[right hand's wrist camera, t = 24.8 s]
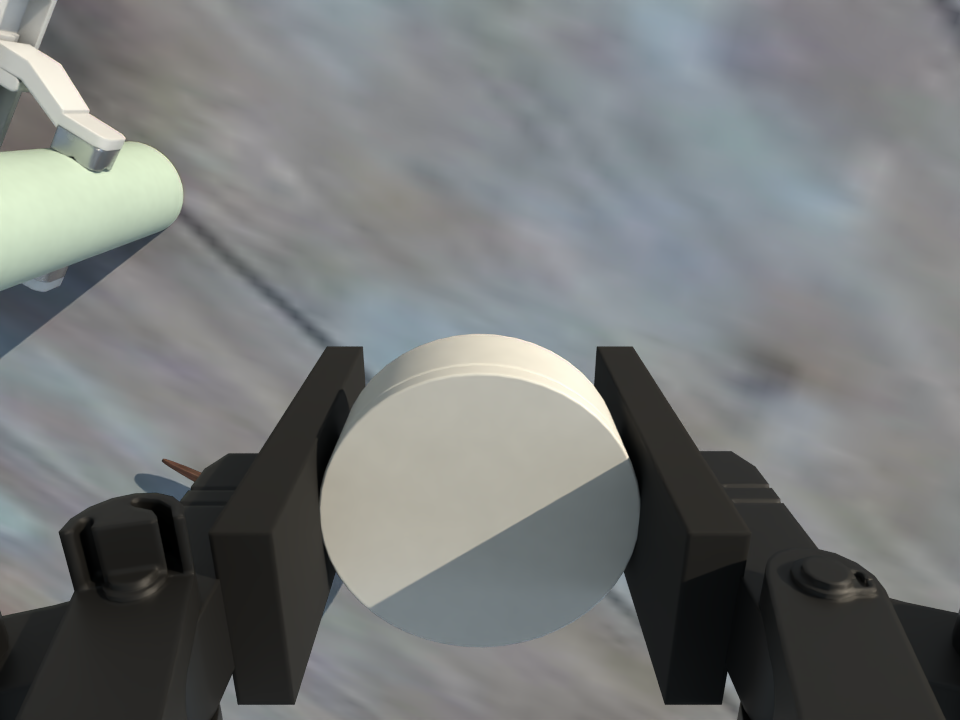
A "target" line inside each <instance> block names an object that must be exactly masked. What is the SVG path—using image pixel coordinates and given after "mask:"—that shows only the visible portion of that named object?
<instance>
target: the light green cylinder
mask: <svg viewBox="0 0 960 720" xmlns="http://www.w3.org/2000/svg"><path fill="white" fill-rule="evenodd" d="M182 204H183V189H182V184H181V180H180V178H179V175H178V173H177V171H176V170H175V168H174V166H173V165H172V164H171V162H170V161H169V160H168V159H167V158H166V157H165V156H164V155H163V154H162V153H160V152H159V151H157V150H156V149H154V148H152V147H150V146H148V145H146V144H143V143H139V142H124V144H123V147H122V149H121V150H120V152H119V154H118V156H117V158H116V160H115V163H114V165H113V167H112V169H111V170H106V169H104V170H103V171H99V172H96V171H93V170H89V169H87V168H85V167H83V166H81V165H80V164H79V163H77V162H76V160H75V158H74V157H73V156H65V155H63V154H61V153H60V152H58V151H56V150H55V149H53V148H43V149H31V150H19V151H7V152H0V291H2V290H5V289H8V288H10V287H13V286H16V285H18V284H21V283H24V282H26V281H29V280H32V279H34V278H37V277H40V276H42V275H45V274H48V273H50V272H53V271H56V270H58V269H61V268H64V267H66V266H69V265H72V264H75V263H77V262H80V261H83V260H85V259H88V258H91V257H93V256H96V255H99V254H101V253H104V252H107V251H109V250H112V249H115V248H117V247H120V246H123V245H125V244H128V243H131V242H133V241H136V240H139V239H141V238H144V237H147V236H149V235H152V234H155V233H157V232H160V231H162V230H164V229H166V228H167V227H169V226H170V225H171V224H172V223H173V222H174V221H175V220H176V219H177V217H178V215H179V213H180V211H181V208H182Z"/></svg>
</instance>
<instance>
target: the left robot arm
mask: <svg viewBox="0 0 960 720" xmlns="http://www.w3.org/2000/svg"><path fill="white" fill-rule="evenodd" d="M56 2H57V0H0V148H1V145H2V143H3V140H4V137H5V135H6V132H7V130H8V127H9V124H10V122H11V119H12V117H13V114H14V111H15V109H16V106H17V104H18V101H19V98H20V96H21V93H22V92H30V93H31V94H32V96H33V97H34V98H35V100H36V101H37V102H38V104H39V105H40V106H41V108H42V109H43V110H44V112H45V113H46V115H47V116H48V117H49V119H50V120H51V121H52V123H53V124H54V125H55V127H56V128H57V130H56V133H55V136H54V138H53V141H52V144H51V147H52V148H53V149H55V150H56V151H58V152H60V153H61V154H63V155H65V156H73V157H74V158H75V160H76V162H77V163H79V164H80V165H81V166H83V167H85V168H87V169H89V170H93V171H96V172H99V171H103V170H104V169H106V170H111V169H112V167H113V165H114V163H115V160H116V158H117V156H118V154H119V152H120V150H121V149H122V147H123V144H124V141H125V139H126V138H125V137H124V136H123V135H122V134H121V133H120V132H118V131H116V130H115V129H113V128H112V127H110V126H108V125H107V124H105V123H104V122H102V121H100V120H99V119H97V118H95V117H94V116H92V115H91V114H89V111H90V110H89V108H88V107H87V105H86V104H85V102H84V100H83V99H82V97H81V96H80V94H79V92H78V91H77V89H76V88H75V86H74V84H73V83H72V81H71V79H70V78H69V76H68V75H67V73H66V71H65V70H64V68H63V67H62V65H61V64H60V63H58V62H57V61H55V60H54V59H52V58H50V57H49V56H47V55H46V54H44V53H42V52H41V51H39V50H38V49H39V46H40V44H41V41H42V39H43V36H44V34H45V31H46V28H47V26H48V23H49V21H50V18H51V15H52V13H53V10H54V7H55V5H56ZM68 267H69V266H66V267H64V268H61V269H58V270H56V271H53V272H50V273H48V274H45V275H42V276H40V277H37V278H34V279H32V280H29V281H26V282H24V283H21V284H23V285H25V286H27V287H29V288H30V289H32V290H35V291H40V292H46V291H49V290H51V289H54V288H56V287H58V286H60V285H61V283H62V281H63V278H64V276H65V274H66V272H67V269H68Z"/></svg>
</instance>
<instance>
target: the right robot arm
mask: <svg viewBox="0 0 960 720" xmlns="http://www.w3.org/2000/svg"><path fill="white" fill-rule="evenodd" d="M594 387H595V388H596V390H597V391H598V393H599V394H600V396H601V397H602V398H603V400H604V402H605V404H606V406H607V408H608V410H609V412H610V414H611V416H612V418H613V421H614V423H615V425H616V428H617V430H618V432H619V435H620V437H621V439H622V442H623V444H624V446H625V449H626V451H627V454H628V456H629V458H630V460H631V463H632V465H633V468H634V471H635V475H636V478H637V481H638V486H639V492H640V499H641V503H640V517H639V526H638V536H637V541H636V544H635V547H634V550H633V553H632V556H631V558H630V560H629V562H628V564H627V566H626V568H625V570H624V574H625V577H626V580H627V584H628V587H629V590H630V593H631V597H632V600H633V603H634V606H635V609H636V613H637V616H638V619H639V622H640V626H641V629H642V632H643V635H644V639H645V642H646V645H647V648H648V651H649V655H650V658H651V661H652V664H653V668H654V671H655V674H656V677H657V680H658V684H659V687H660V690H661V693H662V697H663V700H664V703H665V705H722V700H723V694H724V689H725V683H726V677H727V671H728V673H729V675H730V678H731V680H732V682H733V685H734V687H735V689H736V691H737V694H738V696H739V698H740V701H741V702H740V707H739V713H738V718H737V720H960V610H959V613H954V612H950V611H945V610H940V609H935V608H930V607H926V606H921V605H916V604H911V603H906V602H902V601H899V600H895V599H891V598H889V596H888V594H887V592H886V590H885V589H884V588H883V586H882V585H881V584H880V582H879V581H878V580H877V578H876V577H875V576H874V575H873V574H871V573H870V572H869V571H867V570H866V569H864V568H863V567H862V566H860V565H859V564H858V563H856V562H854V561H851V560H849V559H847V558H845V557H842V556H840V555H838V554H836V553H832V552H828V551H824V550H820V549H818V548H817V546H816V545H815V544H814V543H813V541H812V540H811V539H810V537H809V536H808V535H807V533H806V532H805V531H804V530H803V528H802V527H801V526H800V524H799V523H798V522H797V520H796V519H795V518H794V517H793V515H792V514H791V513H790V511H789V510H788V509H787V507H786V506H785V505H784V503H781V502H780V498H779V497H778V496H777V494H776V493H775V492H774V490H773V489H772V488H769V484H768V483H767V481H766V480H765V479H764V477H763V476H762V475H761V473H760V472H759V471H758V470H757V468H756V467H755V466H753V465H752V464H750V463H749V462H747V461H746V460H744V459H743V458H741V457H739V456H738V455H736V454H735V453H733V452H732V451H699V450H698V448H697V447H696V445H695V443H694V442H693V440H692V439H691V437H690V436H689V434H688V432H687V431H686V429H685V428H684V426H683V425H682V423H681V422H680V420H679V418H678V417H677V415H676V414H675V412H674V411H673V409H672V407H671V406H670V404H669V403H668V401H667V400H666V398H665V396H664V395H663V393H662V392H661V390H660V389H659V387H658V386H657V384H656V382H655V381H654V379H653V378H652V376H651V375H650V373H649V371H648V370H647V368H646V367H645V365H644V364H643V362H642V361H641V359H640V357H639V356H638V354H637V353H636V351H635V350H634V348H633V347H597V351H596V366H595V381H594ZM364 388H365V372H364V358H363V347H326V349H325V350H324V352H323V354H322V355H321V357H320V358H319V360H318V361H317V363H316V365H315V366H314V368H313V369H312V371H311V372H310V374H309V375H308V377H307V379H306V380H305V382H304V383H303V385H302V386H301V388H300V390H299V391H298V393H297V394H296V396H295V397H294V399H293V400H292V402H291V404H290V405H289V407H288V408H287V410H286V411H285V413H284V415H283V416H282V418H281V419H280V421H279V422H278V424H277V426H276V427H275V429H274V430H273V432H272V433H271V435H270V436H269V438H268V440H267V441H266V443H265V444H264V446H263V447H262V449H261V451H260V452H259V453H228V454H227V455H225V456H224V457H222V458H221V459H219V460H218V461H216V462H215V463H213V464H211V465H210V466H208V467H207V468H205V469H204V470H203V472H202V473H201V474H200V476H199V477H198V478H197V480H196V481H195V482H194V484H193V485H192V486H191V490H188V491H187V493H186V494H185V495H184V497H183V498H182V499H181V501H180V502H179V501H178V500H177V499H175V498H174V497H173V496H168V495H164V494H160V493H135V494H130V495H125V496H121V497H116V498H112V499H109V500H106V501H104V502H101V503H99V504H96V505H94V506H91V507H89V508H87V509H86V510H84V511H82V512H81V513H79V514H78V515H76V516H74V517H73V518H71V519H70V520H69V521H68V522H67V523H66V524H65V526H64V527H63V528H62V529H61V530H60V531H59V535H60V539H61V543H62V546H63V550H64V554H65V558H66V561H67V565H68V569H69V572H70V576H71V580H72V584H73V587H74V593H73V596H72V598H71V600H70V601H68V602H65V603H61V604H57V605H53V606H48V607H44V608H39V609H34V610H29V611H25V612H20V613H15V614H10V615H6V616H2V615H1V612H0V720H223V719H222V713H221V707H220V701H221V698H222V696H223V694H224V692H225V689H226V687H227V685H228V682H229V680H230V678H231V676H232V674H233V680H234V685H235V691H236V697H237V703H238V705H295V702H296V698H297V695H298V692H299V689H300V686H301V682H302V679H303V676H304V673H305V669H306V666H307V663H308V660H309V657H310V653H311V650H312V647H313V644H314V640H315V637H316V634H317V631H318V627H319V624H320V621H321V618H322V615H323V611H324V608H325V605H326V602H327V598H328V595H329V592H330V589H331V586H332V582H333V579H334V576H335V573H336V570H335V569H334V567H333V565H332V563H331V561H330V559H329V557H328V554H327V551H326V548H325V546H324V543H323V538H322V531H321V521H320V511H319V497H320V488H321V484H322V480H323V476H324V472H325V469H326V467H327V465H328V462H329V460H330V458H331V455H332V453H333V451H334V448H335V446H336V444H337V441H338V439H339V437H340V434H341V432H342V430H343V427H344V425H345V422H346V420H347V418H348V416H349V413H350V411H351V409H352V406H353V404H354V403H355V401H356V400H357V398H358V396H359V395H360V393H361V392H362V390H363V389H364Z"/></svg>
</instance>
